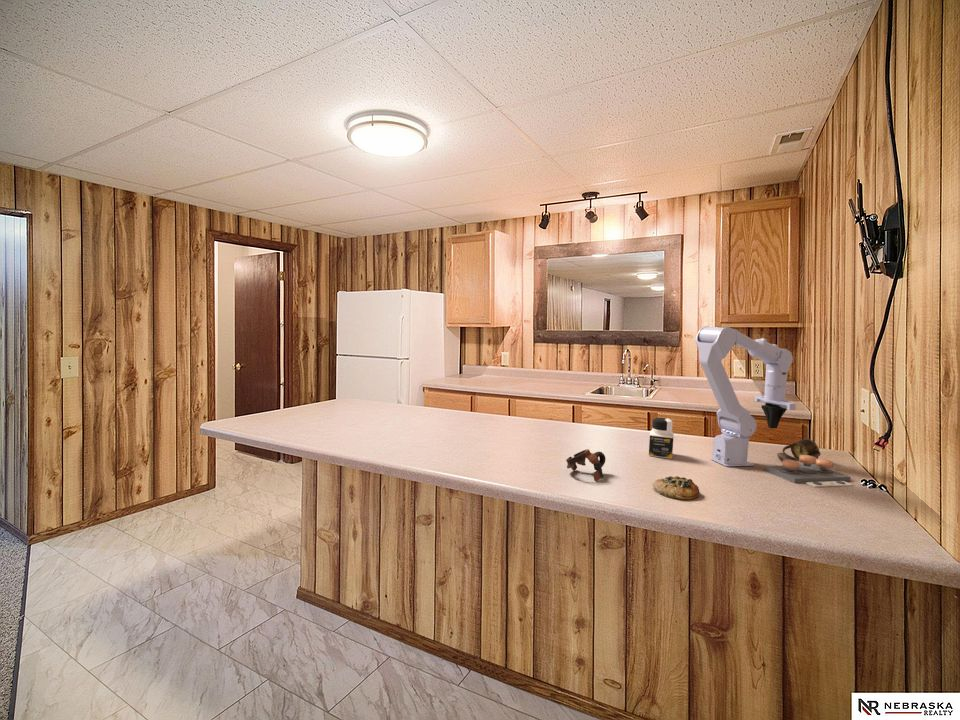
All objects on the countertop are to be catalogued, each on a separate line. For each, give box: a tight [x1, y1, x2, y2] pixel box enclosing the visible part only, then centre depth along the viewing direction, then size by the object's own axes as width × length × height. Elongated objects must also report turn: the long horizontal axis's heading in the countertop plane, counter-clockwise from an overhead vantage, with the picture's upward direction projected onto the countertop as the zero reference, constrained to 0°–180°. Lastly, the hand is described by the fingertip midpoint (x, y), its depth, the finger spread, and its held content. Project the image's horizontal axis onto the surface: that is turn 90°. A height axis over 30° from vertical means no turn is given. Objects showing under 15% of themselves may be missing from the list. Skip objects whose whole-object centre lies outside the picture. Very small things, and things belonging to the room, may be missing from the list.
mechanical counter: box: [776, 438, 821, 462], centre depth 153 cm, size 7×13×10 cm
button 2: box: [814, 458, 833, 470], centre depth 139 cm, size 4×4×3 cm
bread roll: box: [652, 475, 700, 501], centre depth 122 cm, size 11×11×5 cm
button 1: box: [781, 459, 800, 471], centre depth 137 cm, size 4×4×3 cm
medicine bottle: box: [648, 417, 675, 460], centre depth 155 cm, size 7×7×12 cm
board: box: [764, 464, 852, 484], centre depth 138 cm, size 18×11×2 cm, turn 99°
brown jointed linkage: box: [565, 448, 607, 482], centre depth 134 cm, size 12×10×8 cm
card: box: [805, 481, 854, 488], centre depth 131 cm, size 12×3×1 cm, turn 99°
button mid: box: [798, 455, 816, 467], centre depth 138 cm, size 4×4×3 cm
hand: (772, 427), depth 152 cm, fingers closed
